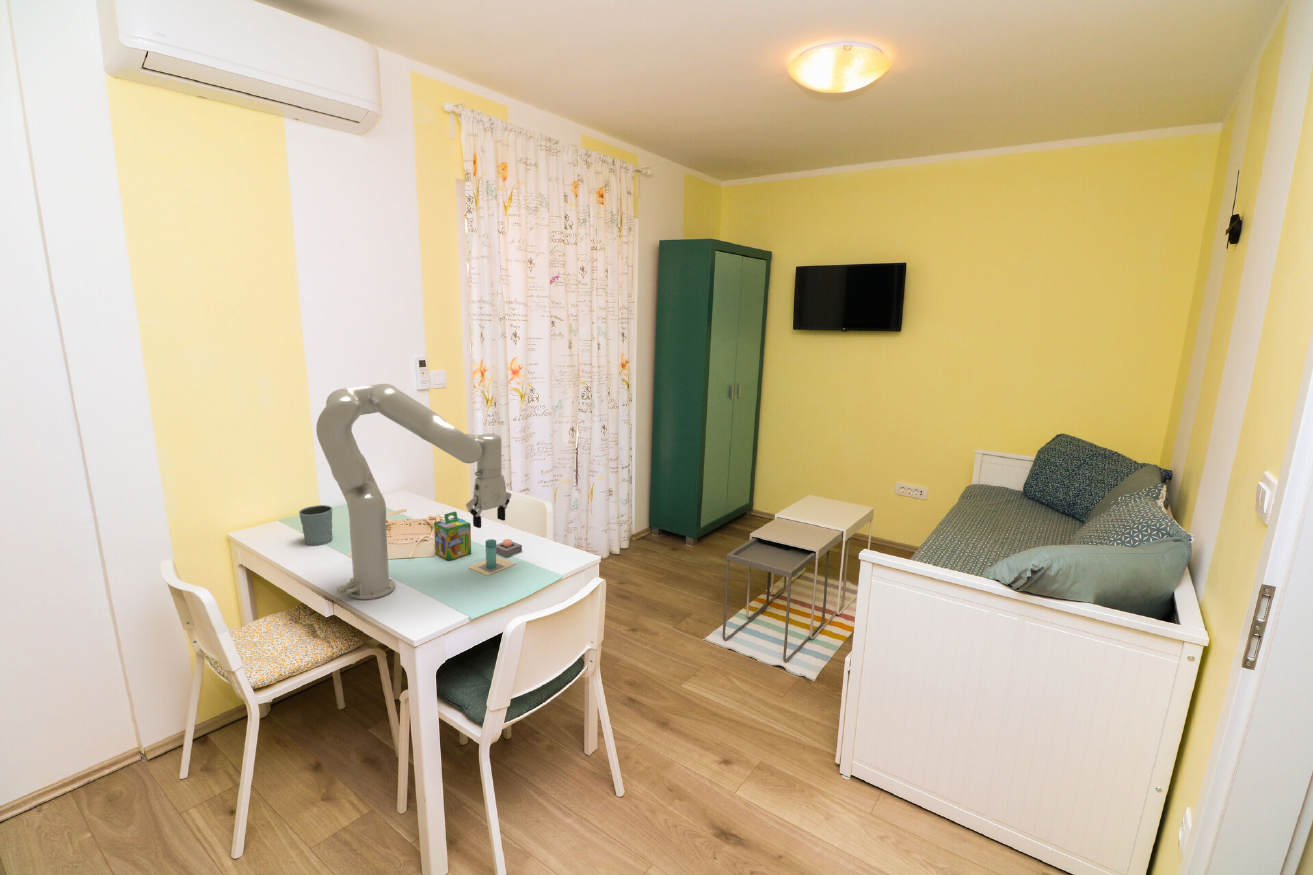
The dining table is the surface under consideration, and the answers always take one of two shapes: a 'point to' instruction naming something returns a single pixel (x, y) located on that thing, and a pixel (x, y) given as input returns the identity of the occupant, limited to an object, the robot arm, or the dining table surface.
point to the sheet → (500, 565)
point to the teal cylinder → (490, 553)
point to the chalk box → (452, 537)
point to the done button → (507, 543)
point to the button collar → (508, 549)
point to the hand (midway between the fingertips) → (489, 523)
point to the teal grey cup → (317, 524)
